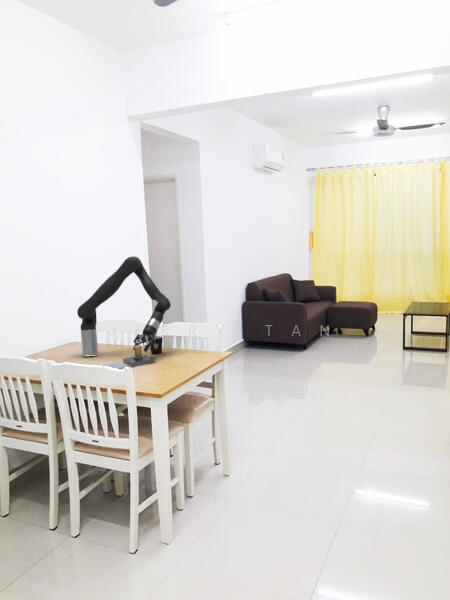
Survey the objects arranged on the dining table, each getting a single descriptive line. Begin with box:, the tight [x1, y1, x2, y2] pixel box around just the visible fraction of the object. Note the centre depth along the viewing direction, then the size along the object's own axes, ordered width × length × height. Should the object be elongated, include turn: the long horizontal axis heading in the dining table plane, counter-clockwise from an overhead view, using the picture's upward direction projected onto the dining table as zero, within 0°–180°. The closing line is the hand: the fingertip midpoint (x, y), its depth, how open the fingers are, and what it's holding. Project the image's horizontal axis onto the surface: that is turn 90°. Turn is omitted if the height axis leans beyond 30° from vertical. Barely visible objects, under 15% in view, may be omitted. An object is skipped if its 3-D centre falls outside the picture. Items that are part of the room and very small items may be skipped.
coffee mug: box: [142, 335, 163, 356], centre depth 306 cm, size 12×9×10 cm
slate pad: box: [102, 361, 129, 370], centre depth 276 cm, size 14×10×1 cm
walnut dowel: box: [133, 344, 143, 360], centre depth 283 cm, size 4×4×10 cm
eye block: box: [122, 354, 156, 368], centre depth 283 cm, size 14×14×2 cm
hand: (139, 350), depth 284 cm, fingers open, 8 cm apart
